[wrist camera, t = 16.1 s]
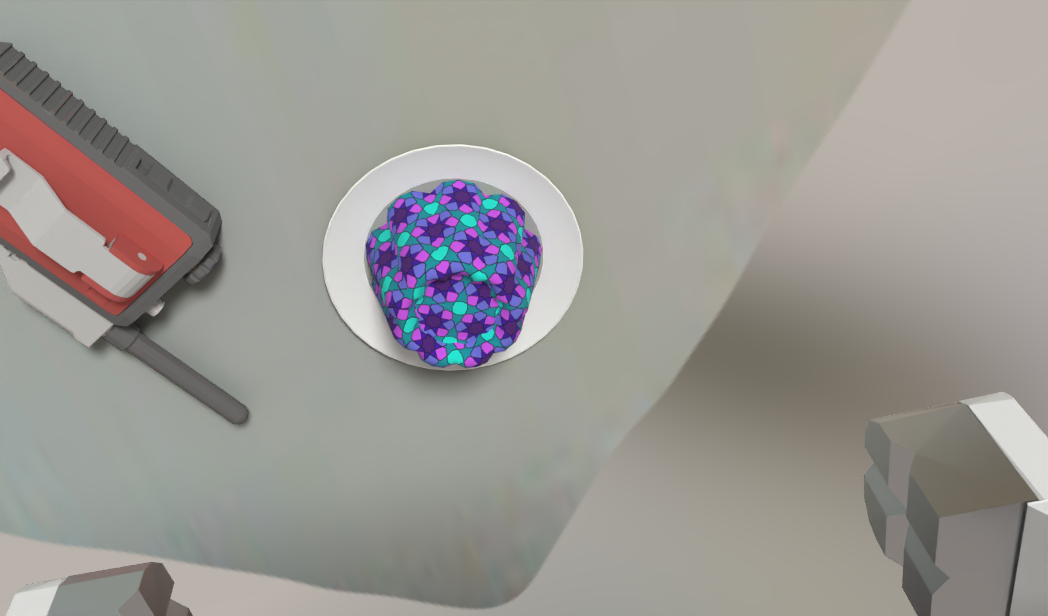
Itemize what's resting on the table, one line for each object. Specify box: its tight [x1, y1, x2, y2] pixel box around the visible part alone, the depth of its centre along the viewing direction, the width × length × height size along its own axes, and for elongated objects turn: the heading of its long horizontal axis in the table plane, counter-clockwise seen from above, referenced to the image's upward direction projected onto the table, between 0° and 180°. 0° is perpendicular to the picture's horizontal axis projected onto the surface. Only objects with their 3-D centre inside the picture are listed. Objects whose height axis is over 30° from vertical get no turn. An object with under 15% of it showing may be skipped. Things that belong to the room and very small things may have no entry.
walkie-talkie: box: [0, 42, 248, 424], centre depth 41 cm, size 9×4×20 cm
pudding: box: [322, 144, 583, 371], centre depth 43 cm, size 12×12×5 cm
